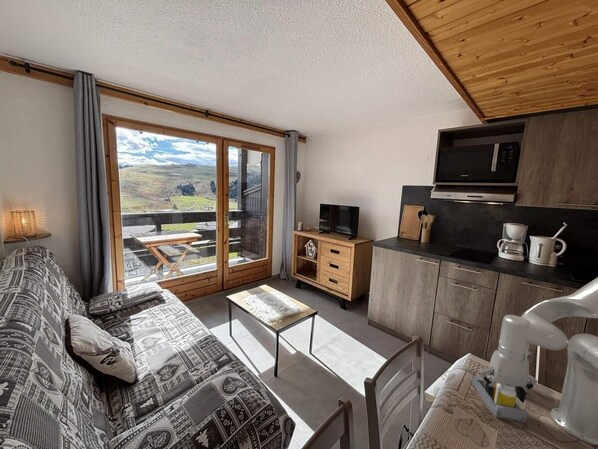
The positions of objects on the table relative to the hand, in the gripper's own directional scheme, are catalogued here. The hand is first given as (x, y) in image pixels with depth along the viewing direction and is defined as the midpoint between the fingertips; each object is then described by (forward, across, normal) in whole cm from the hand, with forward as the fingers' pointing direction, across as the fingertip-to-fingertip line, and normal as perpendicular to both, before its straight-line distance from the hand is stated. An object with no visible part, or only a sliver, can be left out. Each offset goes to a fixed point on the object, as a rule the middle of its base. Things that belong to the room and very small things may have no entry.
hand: (504, 396), depth 87 cm
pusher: (+4, 0, -7) cm, 8 cm away
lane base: (+5, 0, -3) cm, 6 cm away
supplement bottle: (+4, 0, 0) cm, 4 cm away
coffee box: (+5, -11, -12) cm, 17 cm away
